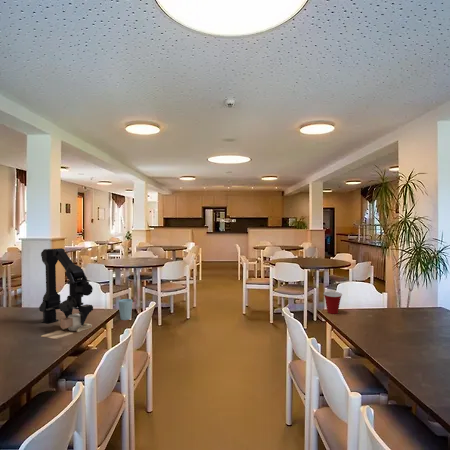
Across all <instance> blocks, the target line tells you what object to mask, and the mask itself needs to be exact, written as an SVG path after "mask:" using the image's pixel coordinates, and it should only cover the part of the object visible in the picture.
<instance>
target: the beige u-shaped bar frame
mask: <svg viewBox="0 0 450 450" xmlns="http://www.w3.org/2000/svg"><path fill="white" fill-rule="evenodd" d="M92 327H93V325H92V324H91V323H85V322H84V324H83V327H81V328H78V329H77V331H76V333H80V332H83V331H84V330H85V331H86V330H88V329H91V328H92ZM61 329H62V331H64V330H66V329H67V330H68V328H61Z"/></svg>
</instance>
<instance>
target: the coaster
mask: <svg viewBox="0 0 450 450" xmlns="http://www.w3.org/2000/svg"><path fill="white" fill-rule="evenodd" d="M73 334H74V332H73V331H64V330H54V331H51V332H47V333H45V334H42V335H40V337H42V338H45V339H51V340H52V339H53V340H58V339H61V338H65V337H66V336H70V335H73Z"/></svg>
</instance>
